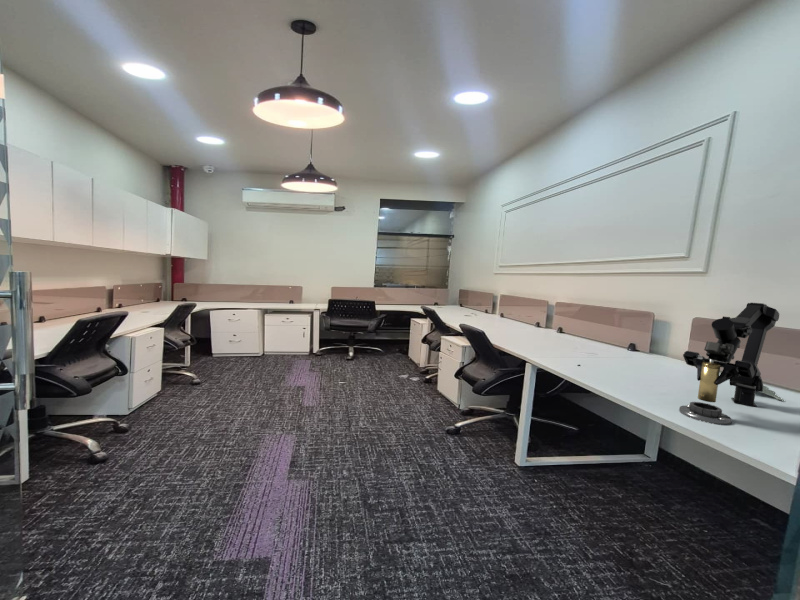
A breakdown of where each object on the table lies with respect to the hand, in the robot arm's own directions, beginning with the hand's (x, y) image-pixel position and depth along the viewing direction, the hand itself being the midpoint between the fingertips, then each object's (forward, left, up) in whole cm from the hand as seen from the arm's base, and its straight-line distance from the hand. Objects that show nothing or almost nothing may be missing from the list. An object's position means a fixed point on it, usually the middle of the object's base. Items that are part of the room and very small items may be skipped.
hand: (707, 382), depth 123 cm
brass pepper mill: (-1, +1, -7) cm, 7 cm away
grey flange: (-1, +1, -12) cm, 12 cm away
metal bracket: (-53, +24, -13) cm, 60 cm away
